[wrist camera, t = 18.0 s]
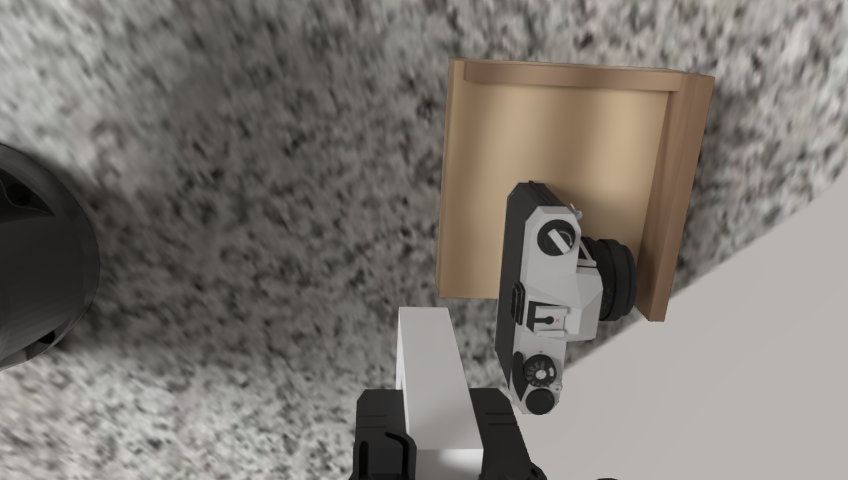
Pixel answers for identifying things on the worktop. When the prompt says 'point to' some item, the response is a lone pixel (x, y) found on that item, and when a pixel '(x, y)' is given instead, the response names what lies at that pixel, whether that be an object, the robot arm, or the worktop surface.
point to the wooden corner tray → (569, 162)
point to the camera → (552, 292)
